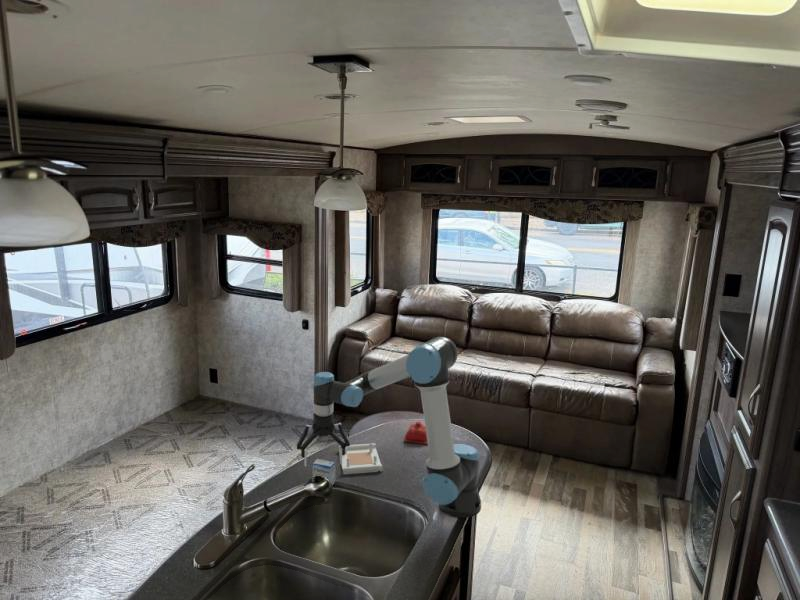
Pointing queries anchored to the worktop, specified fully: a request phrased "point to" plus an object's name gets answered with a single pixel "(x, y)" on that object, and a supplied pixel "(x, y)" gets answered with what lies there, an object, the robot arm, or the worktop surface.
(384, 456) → the worktop surface
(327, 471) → the medicine box
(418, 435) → the butter dish
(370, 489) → the worktop surface
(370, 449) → the pin tray
